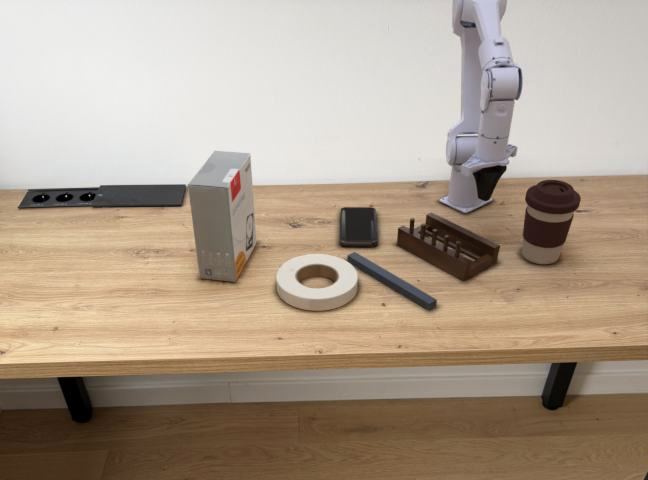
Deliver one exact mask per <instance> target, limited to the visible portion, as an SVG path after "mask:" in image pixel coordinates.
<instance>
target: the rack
mask: <svg viewBox="0 0 648 480" xmlns="http://www.w3.org/2000/svg"><path fill="white" fill-rule="evenodd" d="M415 221H416V219H415V217H410V219H409V227H408V226H405V225H401V226H398V227H397V235H396V237H397V238H396V245H397V246H398V247H400V248H402V249H404V250H406V251H407V252H409V253H411V254H413V255H415V256H417V257H419V258H420V259H422V260H424V261H425V262H428V263H430V264H431V265H433V266H435V267H437V268H439V269H440V270H442V271H444V272H445V273H448V274H450V275H451V276H454V277H455V278H457V279H459V280H461V281H462V282H466V281H467V280H469V279H471V278H473V277H474V276H476V275H478V274H479V273H481V272H483V271H485V270H486V269H489V268H490V267H493V266H494V265H496V264H497V263H498V260H499V254H500V253H499V252H500V249H501V245H500V244H498V243H496V242H494V241H492V240H489V239H488V238H486V237H483V235H482V236H481V235H480V234H477V233H476V232H473V231H471V230H469V229H467V228H465V227H463V226H461V225H459V224H457V223H454V222H452V221H450V220H448V219H446V218H444V217H443V216H441V215H438V214H437V213H434V212H429V213H426V214H425V222H424V223H423V222H422V223H421V225H419V226H417V227H415ZM430 238H431V239H430ZM440 243H441V244H440ZM442 244H443V245H442ZM469 258H470V259H469Z"/></svg>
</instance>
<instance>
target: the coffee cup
mask: <svg viewBox="0 0 648 480" xmlns="http://www.w3.org/2000/svg"><path fill="white" fill-rule="evenodd" d="M524 200H525V203H526V208H525V212H524V220H523V221H524V222H523V227H522V228H523V229H522V247H521V254H522V257H523V258H524V259H525V260H527V261H528V262H530V263H533V264H537V265H550V264H553V263H555V262H557V261H558V260H559V258H560V256H561V252H562V250H563V246H564V244H565V242H566V241H567V237H568V235H569V231H570V229H571V226H572V223H573V220H574V216H575V213H574V212H575V211H577V210H578V209H579V207H580V205H581V195H580V193H579V192H578V191H576V190H575V189H574V187H573V186H572V185H571V184H570V183H568V182H566V181H563V180H559V179H544V180H541V181H539V182H537V183H536V184H534V185H532V186H530V187H529V188H527V189H526V191H525V197H524Z"/></svg>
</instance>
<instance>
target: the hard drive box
mask: <svg viewBox="0 0 648 480" xmlns="http://www.w3.org/2000/svg"><path fill="white" fill-rule="evenodd" d="M251 155H252V154H251V153H250V152H237V151H225V150H214V151H213V152H212V153H211V155H210V156H209V157H208V159H207V160H206V161H205V163H204V164H202V166H201V167H200V168H199V169H198V171H197V172H196V174H194V176H193V177H192V179H191V180H190V181H189V182H188V184H187V189H188V197H189V205H190V213H191V221H192V230H193V237H194V245H195V254H196V261H197V262H196V263H197V270H198V277H199V278H200V279H203V280H205V279H206V280H215V281H224V282H233V283H236V281H237V280H238V279H239V276H240V275H241V273H242V272H243V269H244V267H245V265H246V264H247V262H248V260H249V258H250V256H251V255H252V253H253V251H254V249H255V247H256V244H257V241H258V240H257V229H256V227H257V226H256V215H255V213H256V212H255V202H254V201H255V199H254V187H253V185H254V184H253V173H252V158H251Z"/></svg>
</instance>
